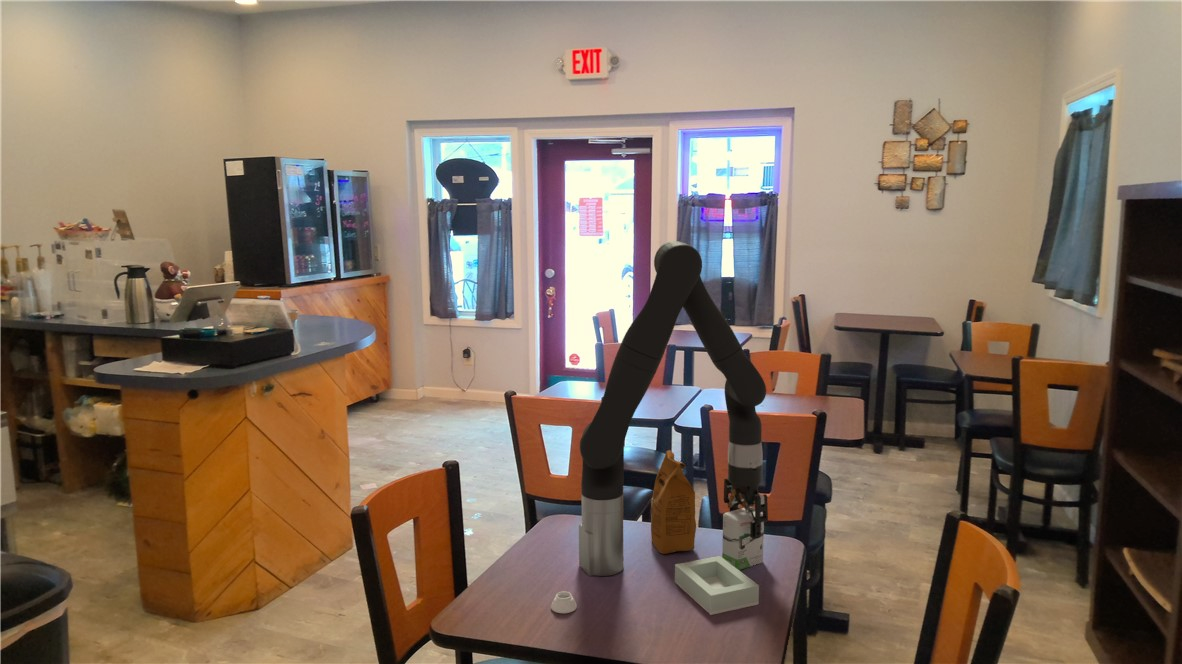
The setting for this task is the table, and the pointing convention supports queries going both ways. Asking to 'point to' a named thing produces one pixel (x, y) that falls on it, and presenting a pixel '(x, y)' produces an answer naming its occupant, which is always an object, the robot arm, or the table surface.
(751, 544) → the ink box
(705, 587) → the pale green rectangular frame
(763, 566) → the table surface
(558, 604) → the lidless jar
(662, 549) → the coffee package
